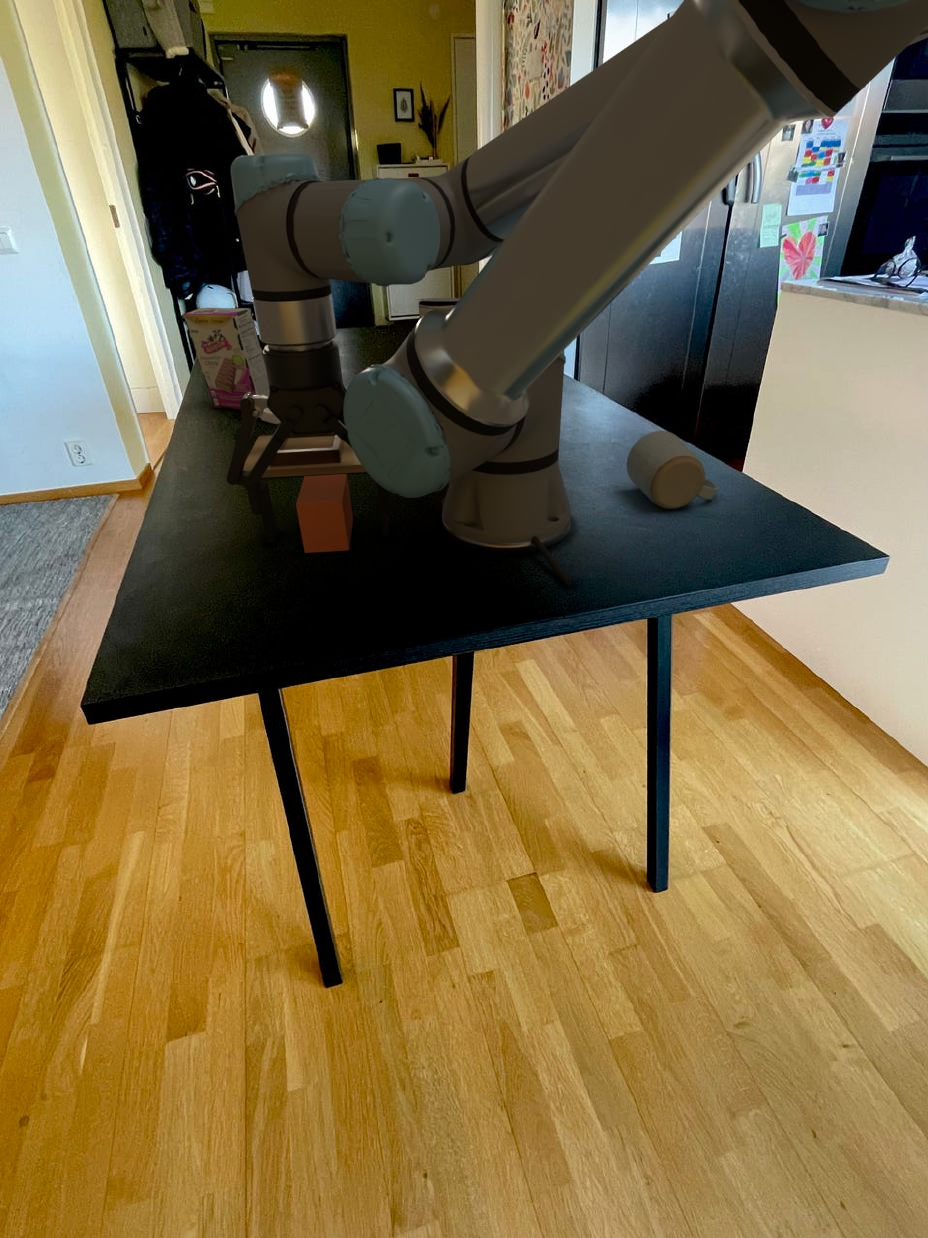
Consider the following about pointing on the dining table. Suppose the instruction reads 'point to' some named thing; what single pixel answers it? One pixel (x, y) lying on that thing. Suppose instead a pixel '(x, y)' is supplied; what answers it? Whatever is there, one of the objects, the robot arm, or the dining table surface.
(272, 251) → the robot arm
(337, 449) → the wooden board with frame
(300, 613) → the dining table surface
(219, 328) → the candy bar box
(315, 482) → the orange block
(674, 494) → the ceramic mug
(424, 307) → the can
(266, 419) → the corner connector
